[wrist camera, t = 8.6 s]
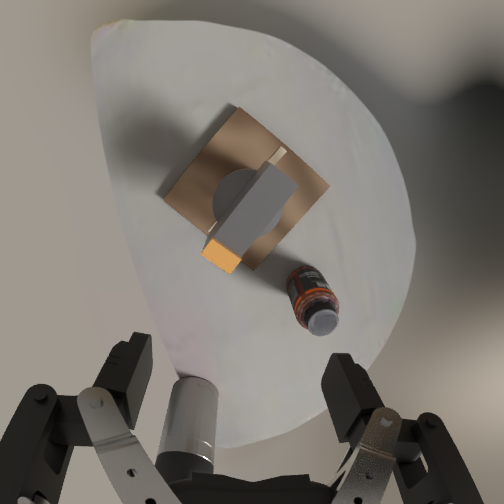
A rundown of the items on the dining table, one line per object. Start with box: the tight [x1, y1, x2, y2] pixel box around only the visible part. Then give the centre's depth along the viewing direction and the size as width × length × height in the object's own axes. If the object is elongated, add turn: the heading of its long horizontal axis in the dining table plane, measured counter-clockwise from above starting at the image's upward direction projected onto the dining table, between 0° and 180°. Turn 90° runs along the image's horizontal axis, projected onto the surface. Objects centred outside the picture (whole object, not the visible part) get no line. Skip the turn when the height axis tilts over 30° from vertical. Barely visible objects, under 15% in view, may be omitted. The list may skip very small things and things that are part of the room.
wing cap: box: [201, 161, 299, 274], centre depth 26 cm, size 9×7×8 cm
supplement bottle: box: [287, 267, 339, 336], centre depth 39 cm, size 6×6×11 cm
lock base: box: [163, 107, 330, 270], centre depth 35 cm, size 16×16×9 cm
